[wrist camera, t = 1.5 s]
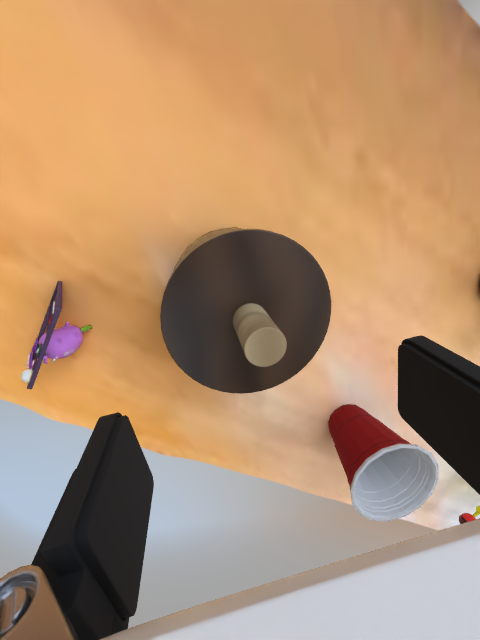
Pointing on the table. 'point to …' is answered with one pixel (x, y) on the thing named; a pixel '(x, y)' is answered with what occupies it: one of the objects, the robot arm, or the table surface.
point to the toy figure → (469, 516)
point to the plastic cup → (381, 465)
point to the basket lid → (245, 311)
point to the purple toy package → (53, 339)
